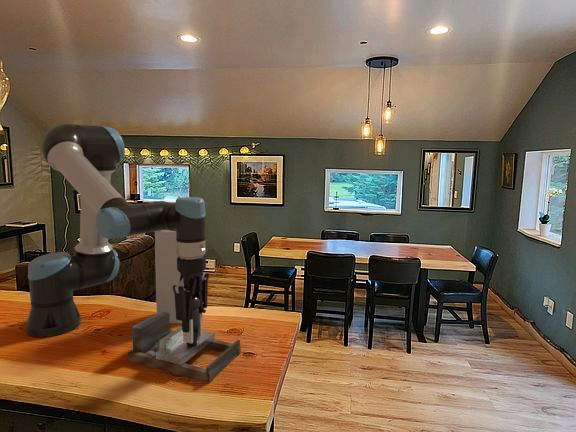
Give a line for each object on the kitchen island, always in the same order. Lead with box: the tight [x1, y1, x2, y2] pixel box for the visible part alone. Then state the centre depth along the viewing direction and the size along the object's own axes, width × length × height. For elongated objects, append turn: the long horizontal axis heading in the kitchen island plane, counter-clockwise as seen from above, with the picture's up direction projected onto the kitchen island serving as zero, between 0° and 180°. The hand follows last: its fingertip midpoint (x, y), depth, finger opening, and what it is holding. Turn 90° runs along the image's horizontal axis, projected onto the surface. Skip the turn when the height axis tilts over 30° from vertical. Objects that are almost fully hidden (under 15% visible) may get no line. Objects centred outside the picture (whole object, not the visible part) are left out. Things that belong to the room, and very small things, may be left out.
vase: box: [154, 230, 191, 325], centre depth 134 cm, size 14×14×32 cm
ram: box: [156, 296, 216, 365], centre depth 108 cm, size 8×16×18 cm, turn 159°
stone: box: [145, 333, 169, 356], centre depth 111 cm, size 10×5×8 cm
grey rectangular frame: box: [127, 311, 242, 384], centre depth 109 cm, size 26×16×9 cm, turn 68°
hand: (192, 338), depth 108 cm, fingers open, 4 cm apart
